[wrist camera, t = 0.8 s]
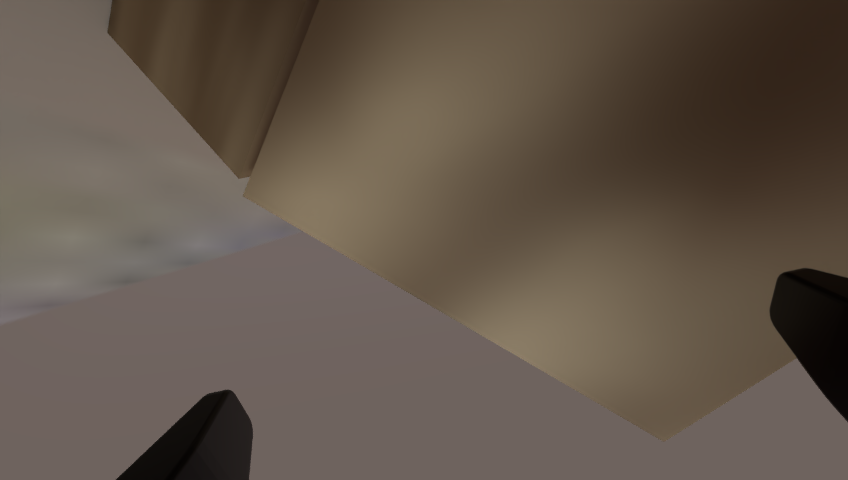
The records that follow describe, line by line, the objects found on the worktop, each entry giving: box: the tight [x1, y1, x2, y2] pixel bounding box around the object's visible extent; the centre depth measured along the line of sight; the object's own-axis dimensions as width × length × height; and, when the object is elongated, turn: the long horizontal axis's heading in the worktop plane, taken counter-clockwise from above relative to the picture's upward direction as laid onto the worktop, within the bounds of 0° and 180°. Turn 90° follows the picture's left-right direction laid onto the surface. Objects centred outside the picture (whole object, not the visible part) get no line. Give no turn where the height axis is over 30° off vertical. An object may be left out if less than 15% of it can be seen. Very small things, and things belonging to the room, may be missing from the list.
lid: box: [243, 0, 848, 442], centre depth 9 cm, size 12×14×1 cm
